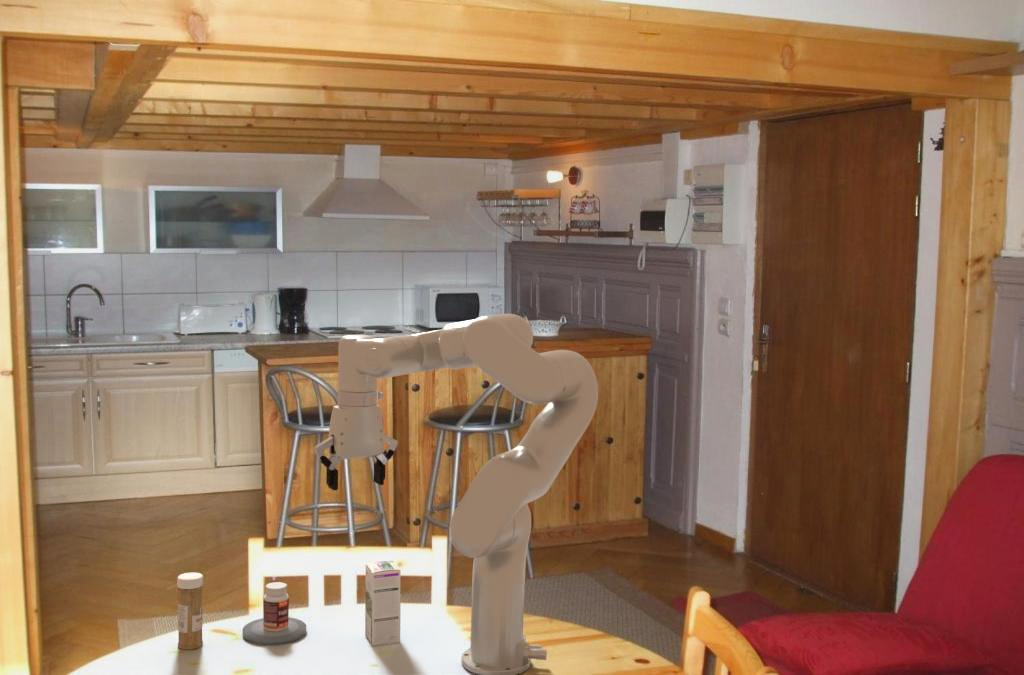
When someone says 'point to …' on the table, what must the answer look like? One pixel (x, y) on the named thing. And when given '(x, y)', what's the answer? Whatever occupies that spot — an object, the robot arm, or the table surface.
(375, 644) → the syrup box
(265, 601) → the pill bottle
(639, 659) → the table surface
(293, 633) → the dish
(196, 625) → the sprinkles bottle
